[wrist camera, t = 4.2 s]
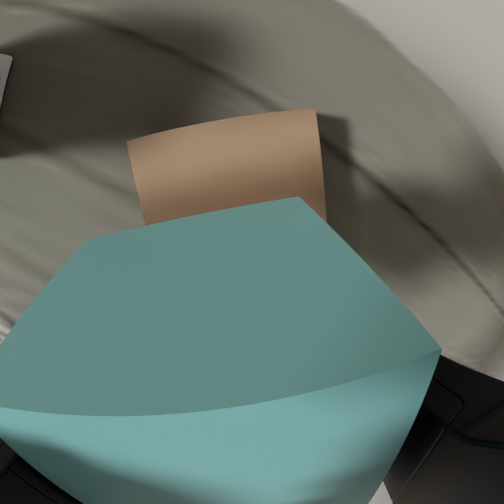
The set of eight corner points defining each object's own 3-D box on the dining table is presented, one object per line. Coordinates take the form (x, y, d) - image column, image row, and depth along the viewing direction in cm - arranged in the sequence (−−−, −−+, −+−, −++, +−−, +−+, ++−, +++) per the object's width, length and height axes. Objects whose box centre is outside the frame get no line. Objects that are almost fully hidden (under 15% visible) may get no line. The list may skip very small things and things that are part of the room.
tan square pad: (315, 256, 21) (329, 275, 19) (174, 283, 21) (170, 306, 18) (299, 111, 17) (315, 108, 14) (139, 139, 17) (126, 141, 14)
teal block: (311, 359, 10) (365, 507, 5) (152, 385, 10) (135, 532, 5) (298, 196, 8) (442, 348, 2) (87, 239, 8) (-34, 399, 2)
